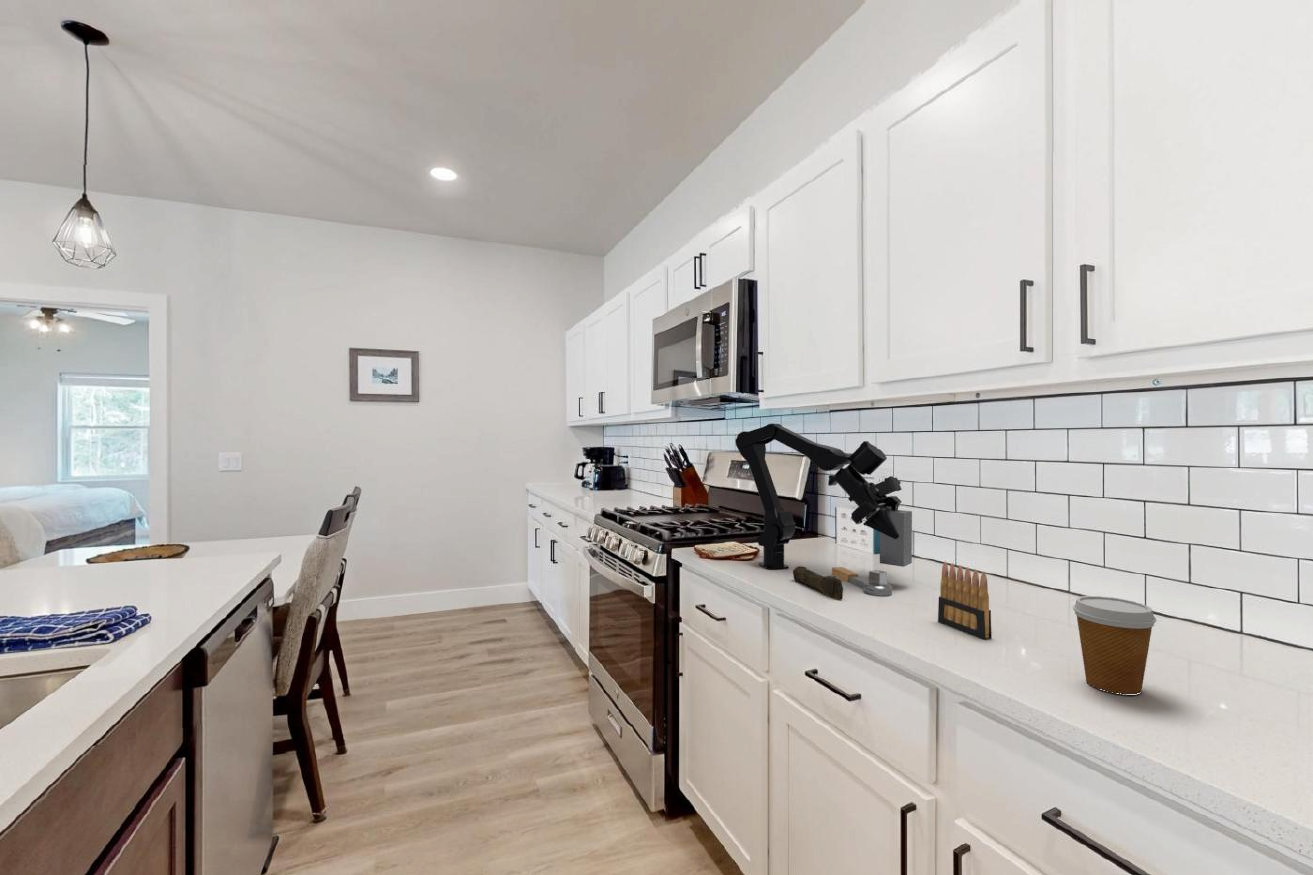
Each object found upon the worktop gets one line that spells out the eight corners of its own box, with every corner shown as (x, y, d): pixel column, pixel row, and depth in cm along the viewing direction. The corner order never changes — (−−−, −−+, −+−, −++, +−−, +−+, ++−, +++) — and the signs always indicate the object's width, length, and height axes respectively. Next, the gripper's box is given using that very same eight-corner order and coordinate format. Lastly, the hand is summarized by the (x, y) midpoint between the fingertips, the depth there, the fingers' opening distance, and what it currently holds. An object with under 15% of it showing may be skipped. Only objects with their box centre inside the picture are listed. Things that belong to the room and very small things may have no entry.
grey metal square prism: (879, 563, 139) (879, 511, 139) (888, 559, 143) (888, 509, 143) (903, 566, 135) (903, 513, 135) (911, 563, 139) (911, 511, 139)
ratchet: (826, 575, 152) (826, 556, 152) (847, 574, 153) (847, 555, 153) (873, 597, 131) (873, 575, 131) (897, 595, 132) (897, 574, 132)
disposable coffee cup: (1131, 706, 77) (1131, 617, 77) (1058, 679, 86) (1058, 599, 86) (1171, 694, 81) (1171, 609, 81) (1097, 669, 90) (1097, 592, 90)
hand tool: (792, 581, 146) (792, 563, 146) (806, 580, 147) (806, 562, 147) (830, 603, 127) (830, 581, 127) (847, 601, 128) (846, 580, 128)
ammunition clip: (992, 639, 104) (992, 572, 104) (984, 640, 103) (984, 572, 103) (944, 621, 114) (945, 560, 114) (937, 622, 113) (937, 560, 113)
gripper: (864, 467, 135) (913, 519, 127) (893, 464, 149) (939, 511, 141) (832, 498, 140) (877, 549, 133) (863, 492, 154) (905, 539, 147)
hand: (901, 536), depth 138 cm, fingers closed on grey metal square prism, 6 cm apart
